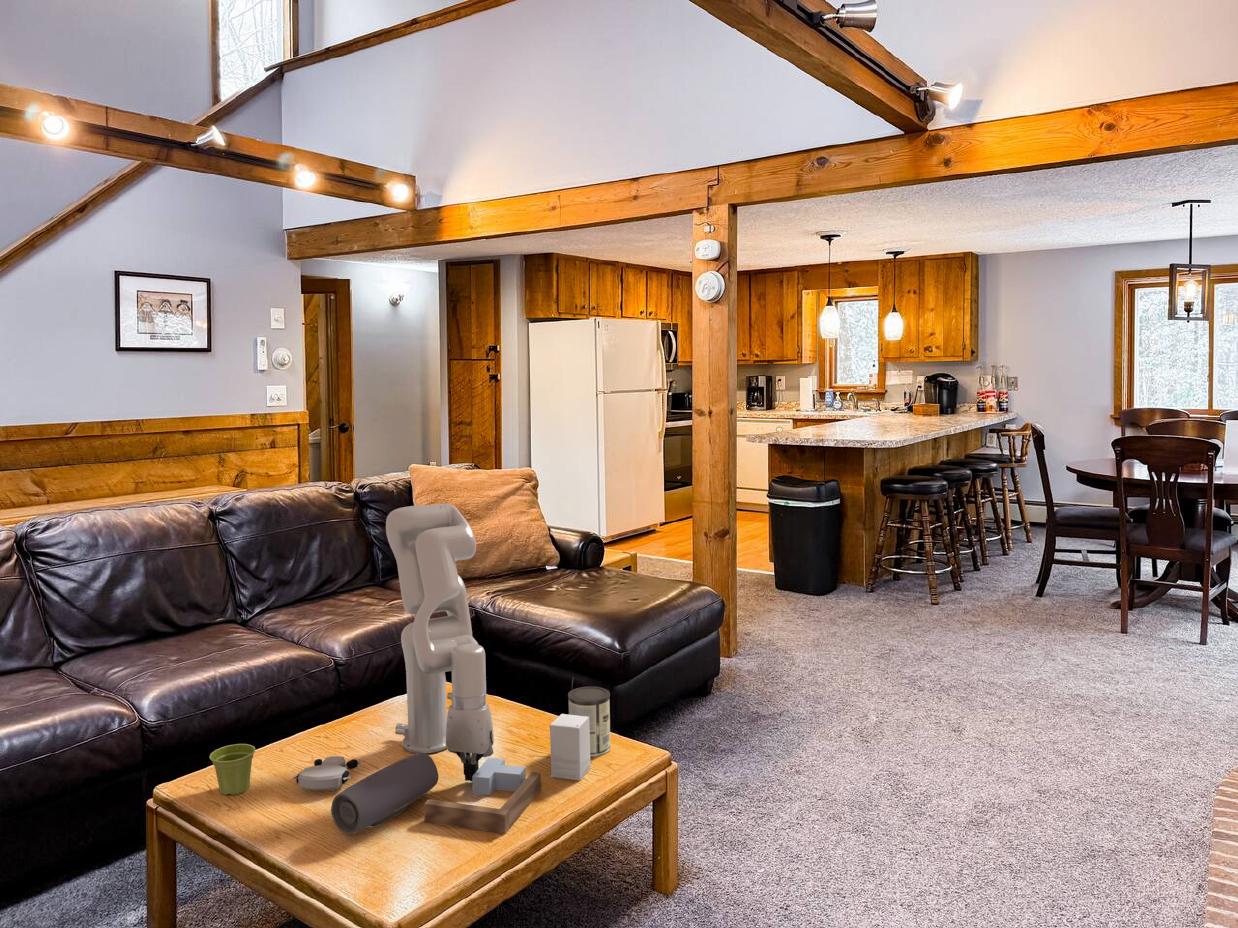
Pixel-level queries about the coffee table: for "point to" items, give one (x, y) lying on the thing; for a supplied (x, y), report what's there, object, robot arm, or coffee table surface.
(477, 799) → the coffee table surface
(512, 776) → the tee block
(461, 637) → the robot arm
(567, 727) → the supplement box
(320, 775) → the robot toy
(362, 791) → the bluetooth speaker
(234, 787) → the plant pot
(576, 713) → the coffee can
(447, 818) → the walnut fence
